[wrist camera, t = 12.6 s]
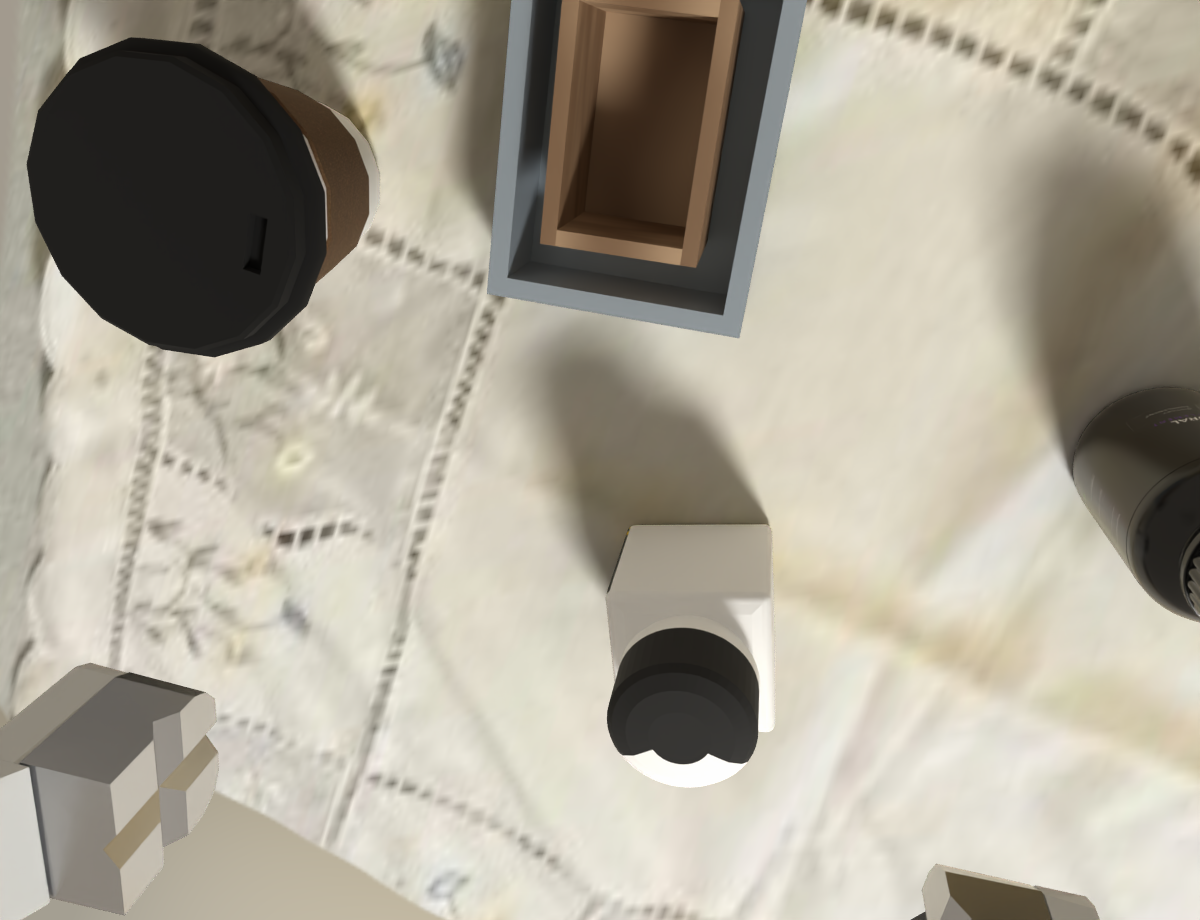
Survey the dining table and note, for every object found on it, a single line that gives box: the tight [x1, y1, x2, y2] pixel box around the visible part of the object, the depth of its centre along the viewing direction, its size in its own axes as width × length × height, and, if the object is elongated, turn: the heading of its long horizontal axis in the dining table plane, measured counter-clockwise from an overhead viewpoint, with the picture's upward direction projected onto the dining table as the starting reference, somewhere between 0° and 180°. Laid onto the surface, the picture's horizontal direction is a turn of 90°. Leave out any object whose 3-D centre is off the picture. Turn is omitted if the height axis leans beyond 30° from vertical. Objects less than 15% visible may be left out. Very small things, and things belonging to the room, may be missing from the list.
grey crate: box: [487, 0, 807, 338], centre depth 37 cm, size 11×14×4 cm
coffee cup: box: [27, 38, 380, 357], centre depth 37 cm, size 11×11×12 cm
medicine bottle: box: [606, 524, 775, 787], centre depth 41 cm, size 7×7×12 cm
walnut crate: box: [540, 0, 745, 268], centre depth 35 cm, size 6×9×6 cm, turn 174°
